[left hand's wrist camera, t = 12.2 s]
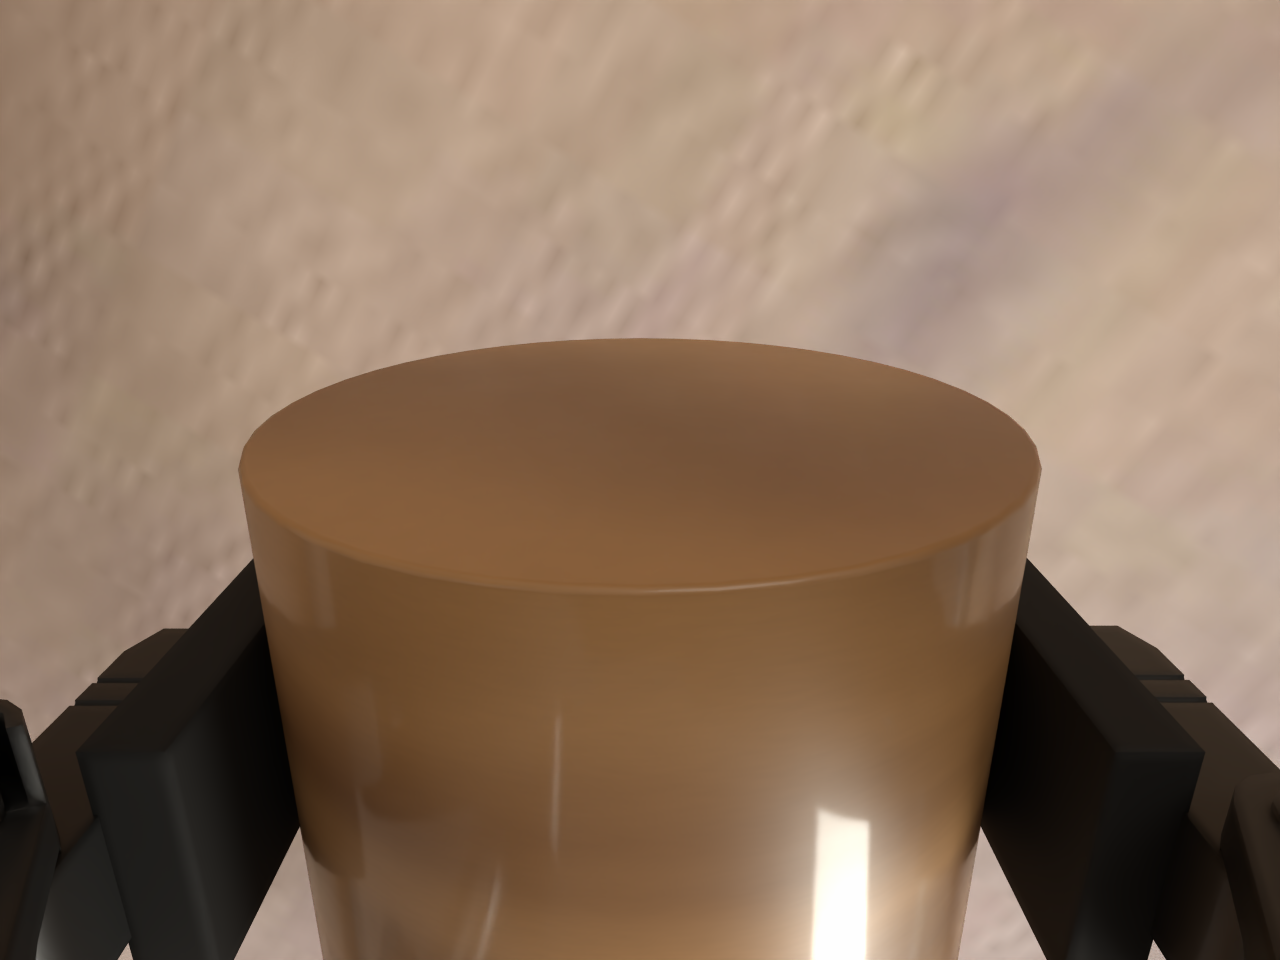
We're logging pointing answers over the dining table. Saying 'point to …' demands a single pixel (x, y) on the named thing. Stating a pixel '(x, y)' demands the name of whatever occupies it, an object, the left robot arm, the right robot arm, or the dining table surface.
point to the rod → (640, 649)
